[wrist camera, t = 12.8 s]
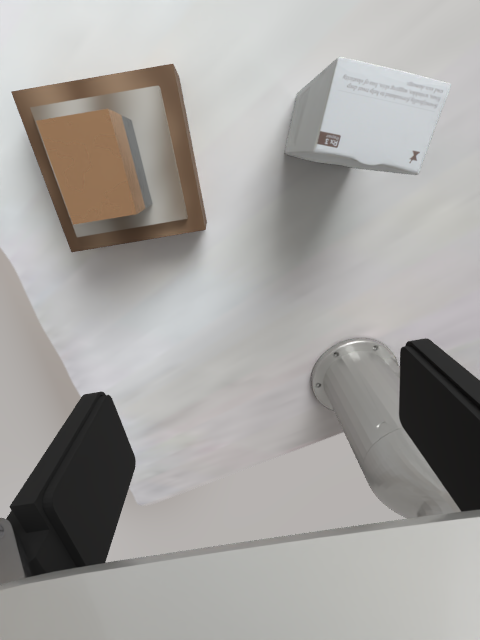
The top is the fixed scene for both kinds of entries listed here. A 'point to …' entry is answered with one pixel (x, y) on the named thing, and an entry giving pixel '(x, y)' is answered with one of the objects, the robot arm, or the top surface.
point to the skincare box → (366, 117)
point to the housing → (96, 165)
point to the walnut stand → (154, 145)
